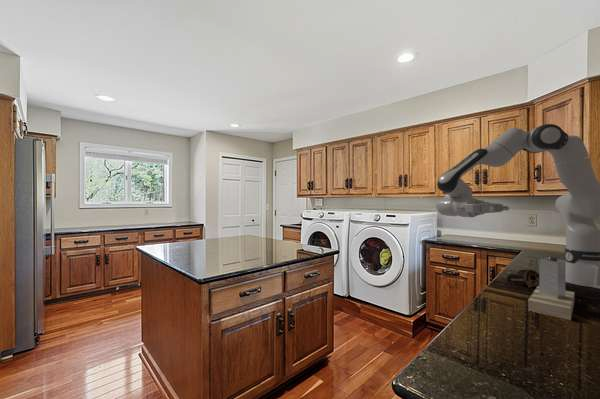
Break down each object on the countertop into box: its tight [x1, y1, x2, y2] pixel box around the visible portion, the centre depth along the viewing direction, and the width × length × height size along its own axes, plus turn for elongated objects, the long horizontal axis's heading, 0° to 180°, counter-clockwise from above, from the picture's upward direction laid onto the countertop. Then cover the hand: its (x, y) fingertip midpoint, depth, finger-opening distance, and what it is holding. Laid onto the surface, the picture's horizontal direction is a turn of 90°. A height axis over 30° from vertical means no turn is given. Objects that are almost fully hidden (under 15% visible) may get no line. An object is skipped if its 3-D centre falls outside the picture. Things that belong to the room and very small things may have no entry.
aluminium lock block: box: [538, 255, 567, 299], centre depth 97 cm, size 5×5×13 cm
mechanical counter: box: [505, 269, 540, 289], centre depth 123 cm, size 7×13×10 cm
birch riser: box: [527, 285, 575, 321], centre depth 97 cm, size 22×10×4 cm, turn 135°
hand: (501, 208), depth 121 cm, fingers open, 8 cm apart
